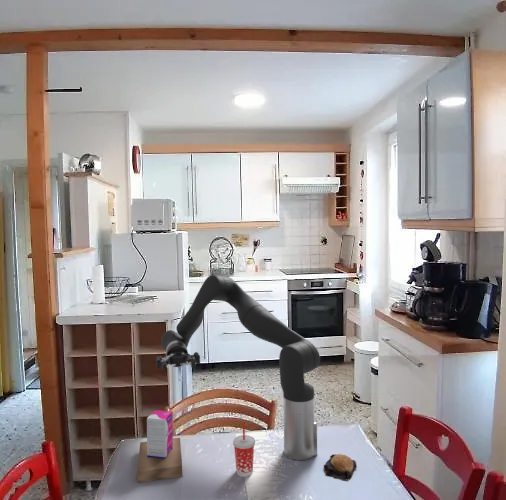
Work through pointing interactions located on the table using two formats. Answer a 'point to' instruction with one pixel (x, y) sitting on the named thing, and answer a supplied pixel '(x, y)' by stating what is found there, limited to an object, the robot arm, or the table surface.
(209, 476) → the table surface
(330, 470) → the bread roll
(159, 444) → the supplement box
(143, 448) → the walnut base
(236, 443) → the beverage cup
